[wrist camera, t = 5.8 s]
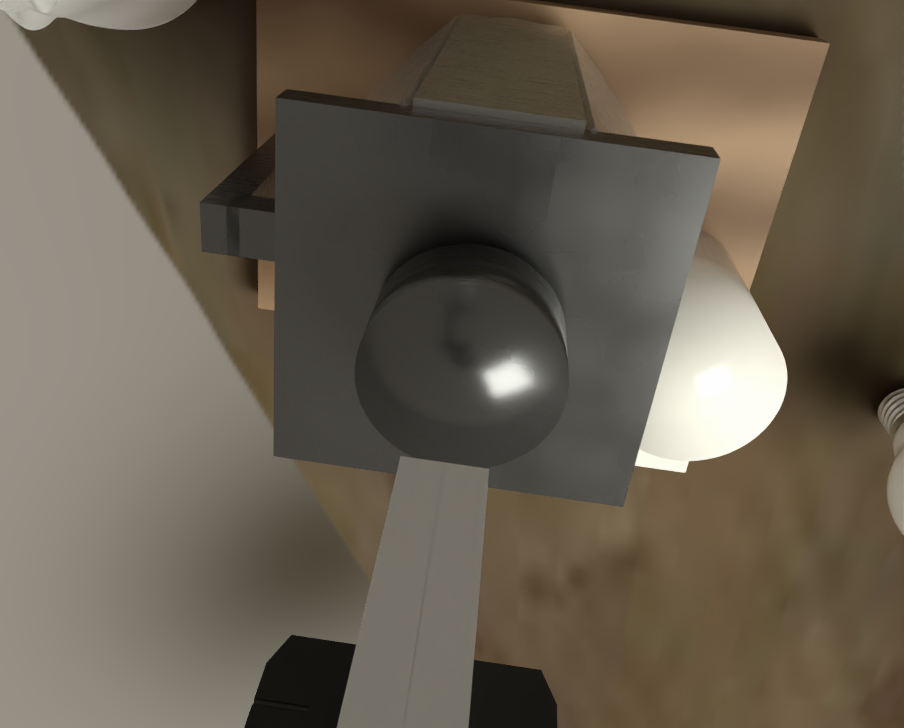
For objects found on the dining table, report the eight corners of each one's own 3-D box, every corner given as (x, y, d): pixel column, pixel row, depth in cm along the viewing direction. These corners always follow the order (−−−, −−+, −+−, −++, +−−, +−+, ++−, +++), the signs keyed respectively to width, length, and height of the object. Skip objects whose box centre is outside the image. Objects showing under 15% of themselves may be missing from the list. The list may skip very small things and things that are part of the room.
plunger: (403, 45, 33) (284, 183, 17) (614, 74, 32) (686, 239, 17) (387, 243, 37) (281, 497, 21) (574, 270, 37) (602, 544, 21)
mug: (606, 214, 38) (624, 295, 31) (756, 234, 38) (812, 322, 30) (572, 371, 43) (580, 478, 35) (706, 390, 43) (744, 502, 35)
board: (266, -37, 36) (256, -34, 34) (819, 37, 35) (830, 43, 34) (266, 295, 44) (258, 308, 42) (716, 359, 43) (722, 374, 42)
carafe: (312, -11, 35) (131, 69, 19) (643, 34, 34) (732, 151, 19) (306, 230, 40) (160, 444, 25) (592, 270, 40) (628, 513, 24)
